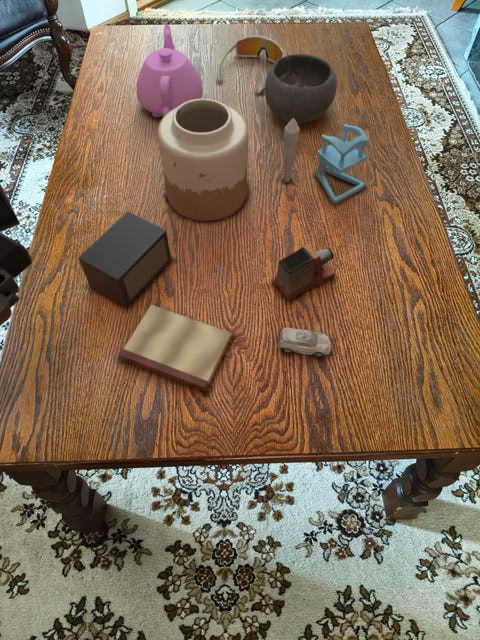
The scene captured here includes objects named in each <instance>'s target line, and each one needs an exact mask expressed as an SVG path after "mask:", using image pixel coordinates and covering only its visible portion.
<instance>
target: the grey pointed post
mask: <svg viewBox="0 0 480 640" xmlns="http://www.w3.org/2000/svg"><path fill="white" fill-rule="evenodd" d="M300 131H301V129H300V127H299V123H297V122H296V120H295V119H294V118H293V119H292V120H291V121H290V122H289V121H288V122H287V125H286V126H284V150H283V151H284V152H283V153H284V154H283V180H284V182H285V183H288V182H290V181H291V178H292V177H291V176H292V171H293V166H294V161H295V156H296V149H297V146H298V142H299V137H300V133H299V132H300Z"/></svg>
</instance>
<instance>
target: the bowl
mask: <svg viewBox="0 0 480 640" xmlns="http://www.w3.org/2000/svg"><path fill="white" fill-rule="evenodd" d="M264 86H265V90H264V96H265V100H266V104H267V106H268V108H269V110H270V111H271V112H272V113H273V114H274V115H275V116H276V117H277V118H279V119H281V120H283V121H286V122H288V123H289V122H290V121H291V120H292V119H293V118H294V119H295V120H296V122H297V124H301V123H302V124H303V123H307V122H311V121H314V120H316V119H318V118H320V117H321V116H323V114H325V113H326V112H327V110H329V108H330V107H331V106H332V104H333V102H334V101H335V98H336V95H337V87H338V80H337V75H336V72H335V69H334V68H333V66H332V65H331V64H330V63H329V62H328V61H326V59H324V58H321V57H319V56H315V55H312V54H306V53H293V54H287V55H285V56H284V57H282V58H280V59H278V60H277V61H276V62H275V63H273V64H272V65H270V68H269V70H268V72H267V74H266V78H265V82H264Z"/></svg>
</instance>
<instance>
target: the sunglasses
mask: <svg viewBox="0 0 480 640" xmlns="http://www.w3.org/2000/svg"><path fill="white" fill-rule="evenodd" d="M234 50H235V55H236V57H238V58H258V57H260V55H261V53H262V51H263V50H264V52H265V58H266V59H267V60H268V61H269V62H271V63H273V64H274V63H275V62H276V61H277V60H278V59H280V58H282V57H284V56H286V55H285V51H284V49H283V48H282V47H281V45H280V43H278V42H277V41H276V40H274V39H273V38H270V37H268V36H264V35H258V34H256V35H255V34H253V35H245V36H244V37H240V38H238V39H237V40H236V41H234V42H233V43H232V45H231V46H229V48H228V49H227V50H226V52H225V53H224V55H223V57H222V59H221V61H220V63H219V66H218V83H219V84H220V83H221V69H222V66H223V63H224V61H225V59H226V57H227V56H228V55H229V54H230V53H232V52H233V51H234ZM263 92H265V85H264V86H263V87H262V88H261V89H260V90H259V91H258V92H257V94H258V95H260V94H262V93H263Z"/></svg>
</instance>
